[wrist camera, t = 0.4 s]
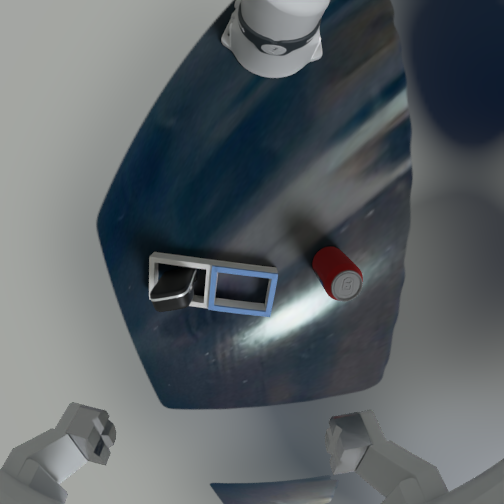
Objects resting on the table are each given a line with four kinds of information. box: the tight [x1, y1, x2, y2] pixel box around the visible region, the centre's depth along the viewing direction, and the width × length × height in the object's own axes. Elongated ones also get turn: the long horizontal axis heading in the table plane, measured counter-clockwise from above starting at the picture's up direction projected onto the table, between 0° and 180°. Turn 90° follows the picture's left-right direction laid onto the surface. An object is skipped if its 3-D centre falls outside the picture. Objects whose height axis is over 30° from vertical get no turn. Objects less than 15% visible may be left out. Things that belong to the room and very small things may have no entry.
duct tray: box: [149, 252, 278, 317], centre depth 54 cm, size 9×24×4 cm, turn 82°
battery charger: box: [150, 267, 197, 312], centre depth 50 cm, size 7×4×11 cm, turn 102°
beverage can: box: [313, 247, 363, 301], centre depth 49 cm, size 7×7×12 cm
